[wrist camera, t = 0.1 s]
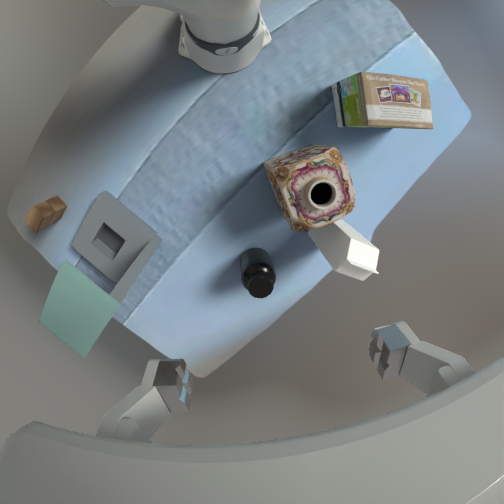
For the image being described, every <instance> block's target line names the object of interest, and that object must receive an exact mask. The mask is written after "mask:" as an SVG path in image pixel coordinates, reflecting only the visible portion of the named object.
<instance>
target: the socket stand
mask: <svg viewBox="0 0 504 504" xmlns="http://www.w3.org/2000/svg"><path fill="white" fill-rule="evenodd" d="M156 233H157V232H156V231H155V230H153V229H152V228H151V227H150V226H148V225H147V224H146V223H145V222H144V221H142V220H141V219H140V218H139V217H138V216H136V215H135V214H134V213H133V212H132V211H130V210H129V209H128V208H127V207H126V206H124V205H123V204H122V203H121V202H120V201H118V200H117V199H116V198H115V197H114V196H113V195H111V194H110V193H109V192H108V191H105V192H103V193H101V194H99V195H98V197H97V198H96V200H95V202H94V203H93V205H92V207H91V209H90V210H89V212H88V214H87V216H86V218H85V219H84V221H83V223H82V225H81V227H80V229H79V231H78V232H77V234H76V236H75V238H74V240H73V242H72V244H71V246H72V247H73V248H74V249H75V250H76V251H77V252H79V253H80V254H81V255H82V256H83V257H84V258H85V259H87V260H88V261H89V262H90V263H91V264H93V265H94V266H95V267H96V268H97V269H99V270H100V271H101V272H102V273H103V274H105V275H106V276H107V277H108V278H110V279H111V280H112V281H113V282H115V283H116V284H117V285H116V286H115V288H114V289H113V290H112V292H111V293H110V295H109V294H107V293H106V292H105V291H103V290H102V289H101V288H100V287H98V286H97V285H96V284H95V283H94V282H92V281H91V280H90V279H89V278H87V277H86V276H85V275H84V274H83V273H82V272H80V271H79V270H78V269H77V268H76V267H75V266H73V265H72V264H71V263H70V262H69V261H68V260H65V261H64V262H63V263H62V264H61V266H60V268H59V271H58V273H57V275H56V278H55V280H54V282H53V285H52V287H51V290H50V292H49V295H48V297H47V300H46V303H45V306H44V308H43V311H42V314H41V317H40V320H39V322H40V323H42V325H44V326H45V327H46V328H47V329H48V330H49V331H51V332H52V333H53V334H54V335H56V336H57V337H58V338H59V339H60V340H62V341H63V342H64V343H65V344H67V345H68V346H69V347H70V348H72V349H73V350H75V351H76V352H77V353H79V354H80V355H81V356H83V357H84V358H85V357H86V355H87V354H88V352H89V351H90V349H91V347H92V346H93V344H94V343H95V341H96V339H97V338H98V337H99V335H100V334H101V332H102V331H103V329H104V328H105V326H106V324H107V323H108V322H109V320H110V319H111V317H112V316H113V314H114V313H115V311H116V310H117V308H118V307H119V305H120V304H121V302H122V300H123V299H124V297H125V295H126V294H127V292H128V291H129V289H130V288H131V286H132V284H133V283H134V281H135V280H136V278H137V277H138V275H139V274H140V272H141V270H142V269H143V267H144V266H145V264H146V263H147V261H148V260H149V258H150V257H151V256H152V254H153V253H154V251H155V250H156V248H157V247H158V245H159V244H160V242H161V241H162V239H161V238H160V237H159V236H158V235H156Z"/></svg>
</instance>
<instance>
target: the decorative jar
mask: <svg viewBox="0 0 504 504" xmlns="http://www.w3.org/2000/svg"><path fill="white" fill-rule="evenodd" d="M264 167H265V170H266V173H267V175H268V178H269V180H270V183H271V186H272V189H273V191H274V194H275V197H276V199H277V202H278V204H279V207H280V210H281V213H282V215H283V216H284V218H285V219H286V221H287V222H288V224H289V225H290V226H291V229H292V230H293V231H296V232H297V231H306V230H309V229H316V228H320V227H324V226H327V225H330V224H332V223H334V222H335V221H338V220H340V219H341V218H343V217H344V216H346V215H347V214H348V213H350V212H351V211H352V210H353V208H354V203H355V198H354V197H355V193H354V188H353V184H352V179H351V176H350V174H349V171H348V169H347V167H346V164H345V163H344V161H343V158H342V156H341V155H340V154H339V151H338V149H337V148H336V147H334V146H326V145H311V146H308V147H305V148H301V149H298V150H295V151H292V152H290V153H287V154H284V155H281V156H278V157H275V158H273V159H270V160H267V161H265V162H264Z"/></svg>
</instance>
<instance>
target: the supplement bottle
mask: <svg viewBox="0 0 504 504" xmlns="http://www.w3.org/2000/svg"><path fill="white" fill-rule="evenodd" d="M240 268H241V279H242V283H243V285H244V287H245V288H246V289H247V290H248V291H249V292H250V294H251V295H252V296H253V297H255V298H265V297H267V296H268V295H269V294H271V292H272V290H273V285H274V283H275V280H276V274H275V270H274V267H273V264H272V261H271V258H270V256H269V254H268V253H267V252H266V251H265V250H263V249H261V248H251V249H249V250H247V251H246V252H244V254H243V255H242V257H241V260H240Z"/></svg>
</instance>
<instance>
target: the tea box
mask: <svg viewBox="0 0 504 504" xmlns="http://www.w3.org/2000/svg"><path fill="white" fill-rule="evenodd" d="M331 86H332V93H333V98H334V106H335V113H336V120H337V127H367V128H410V129H433V122H432V112H431V104H430V96H429V89H428V83H427V81H426V80H422V79H416V78H409V77H403V76H396V75H388V74H380V73H369V72H360V73H357V74H355V75H353V76H350V77H348V78H346V79H343V80H341V81H339V82H337V83H335V84H332V85H331Z"/></svg>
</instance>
